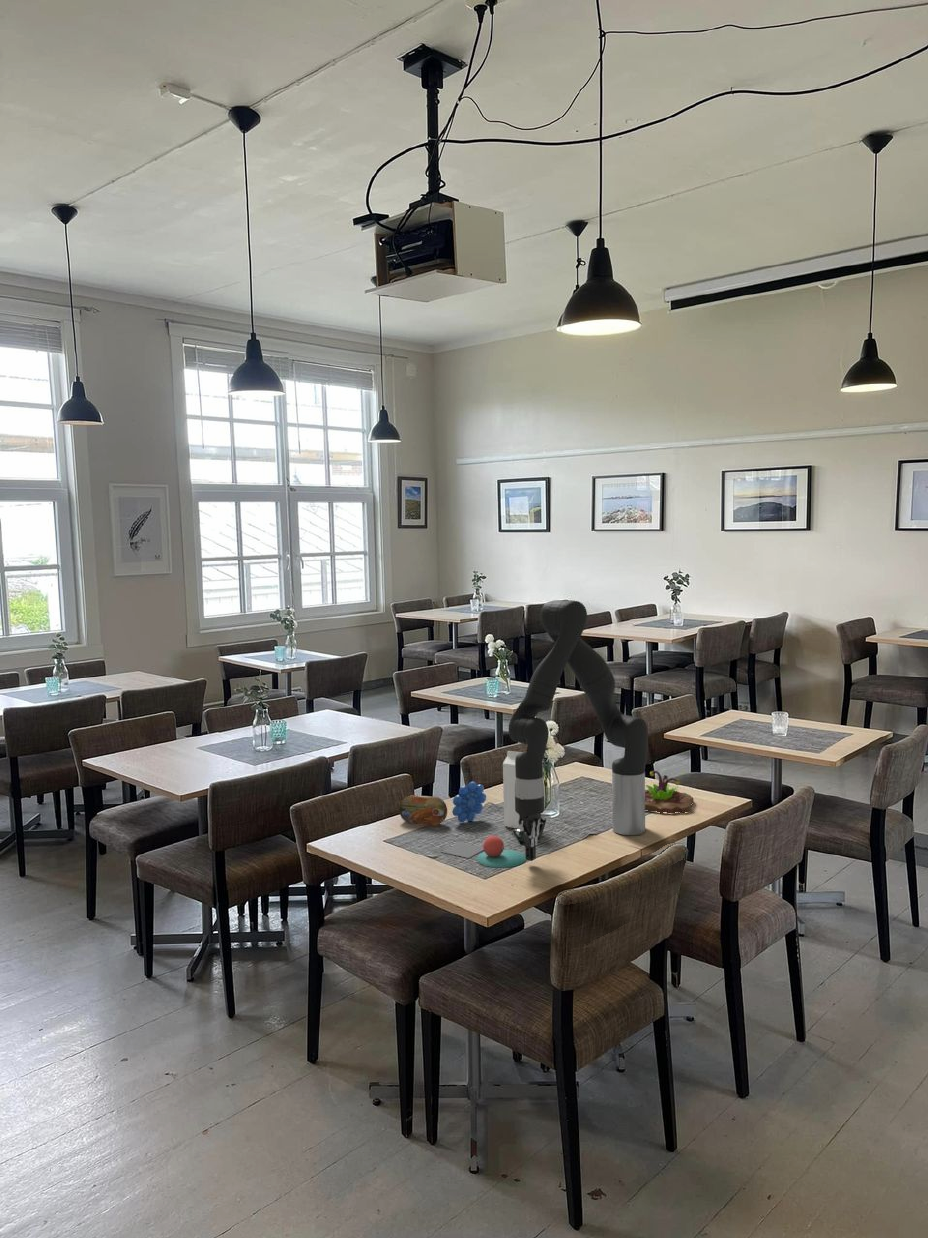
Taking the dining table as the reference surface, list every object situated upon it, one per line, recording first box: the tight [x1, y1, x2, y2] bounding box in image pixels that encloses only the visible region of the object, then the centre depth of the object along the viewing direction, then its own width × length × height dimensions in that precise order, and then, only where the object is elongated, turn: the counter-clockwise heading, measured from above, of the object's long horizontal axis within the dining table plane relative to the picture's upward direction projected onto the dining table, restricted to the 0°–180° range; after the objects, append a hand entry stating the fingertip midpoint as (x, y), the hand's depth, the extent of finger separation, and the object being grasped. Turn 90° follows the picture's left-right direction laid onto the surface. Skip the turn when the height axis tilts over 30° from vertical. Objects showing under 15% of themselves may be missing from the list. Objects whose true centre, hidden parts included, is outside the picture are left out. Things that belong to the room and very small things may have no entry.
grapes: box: [452, 781, 487, 823], centre depth 262 cm, size 12×7×12 cm, turn 120°
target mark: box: [476, 849, 526, 869], centre depth 229 cm, size 13×13×1 cm
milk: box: [502, 750, 522, 829], centre depth 256 cm, size 6×6×22 cm
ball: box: [482, 835, 505, 857], centre depth 231 cm, size 6×6×6 cm
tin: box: [398, 794, 448, 827], centre depth 260 cm, size 15×3×8 cm, turn 68°
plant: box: [645, 770, 694, 814], centre depth 273 cm, size 20×20×11 cm
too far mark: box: [440, 841, 484, 859], centre depth 236 cm, size 9×9×1 cm
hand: (530, 859), depth 224 cm, fingers closed
